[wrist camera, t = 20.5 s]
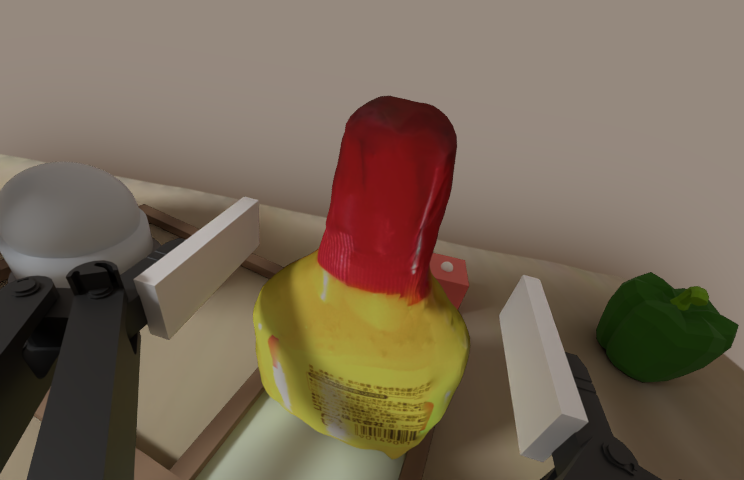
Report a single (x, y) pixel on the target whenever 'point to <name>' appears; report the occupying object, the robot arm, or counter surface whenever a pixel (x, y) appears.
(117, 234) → the dome
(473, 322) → the counter surface
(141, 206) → the divided wooden frame
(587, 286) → the counter surface
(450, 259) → the die
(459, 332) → the bottle
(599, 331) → the bell pepper
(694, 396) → the counter surface
